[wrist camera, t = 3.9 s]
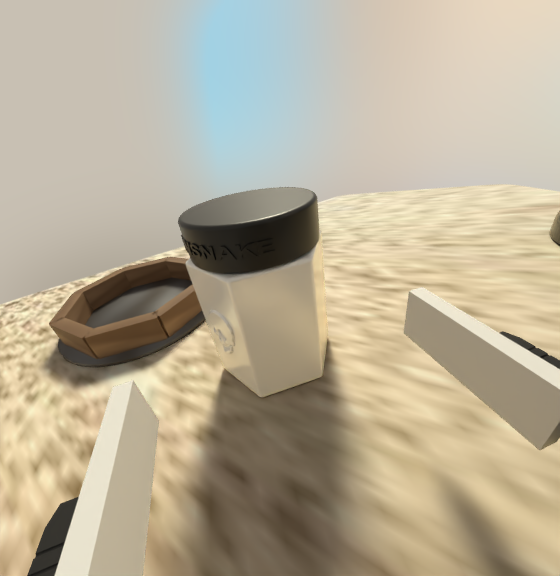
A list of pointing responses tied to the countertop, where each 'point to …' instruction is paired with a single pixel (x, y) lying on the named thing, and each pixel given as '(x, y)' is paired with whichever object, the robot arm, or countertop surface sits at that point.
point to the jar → (261, 284)
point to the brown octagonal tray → (128, 314)
